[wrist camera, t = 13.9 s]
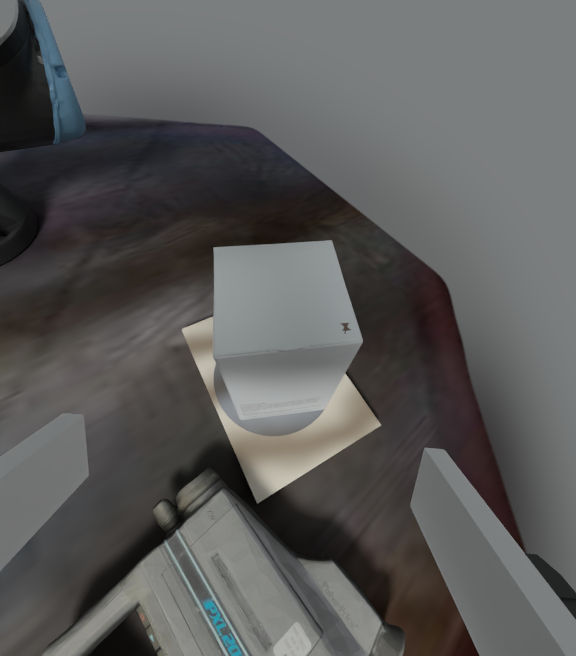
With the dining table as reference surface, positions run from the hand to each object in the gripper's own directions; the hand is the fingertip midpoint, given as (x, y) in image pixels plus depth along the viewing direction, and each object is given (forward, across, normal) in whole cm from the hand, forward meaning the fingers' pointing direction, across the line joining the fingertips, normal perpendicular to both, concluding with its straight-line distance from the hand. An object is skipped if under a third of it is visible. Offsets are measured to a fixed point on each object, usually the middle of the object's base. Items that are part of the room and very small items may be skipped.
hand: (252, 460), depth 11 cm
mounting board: (+21, 0, -6) cm, 21 cm away
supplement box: (+20, 0, -5) cm, 20 cm away
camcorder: (+7, -2, -20) cm, 21 cm away
